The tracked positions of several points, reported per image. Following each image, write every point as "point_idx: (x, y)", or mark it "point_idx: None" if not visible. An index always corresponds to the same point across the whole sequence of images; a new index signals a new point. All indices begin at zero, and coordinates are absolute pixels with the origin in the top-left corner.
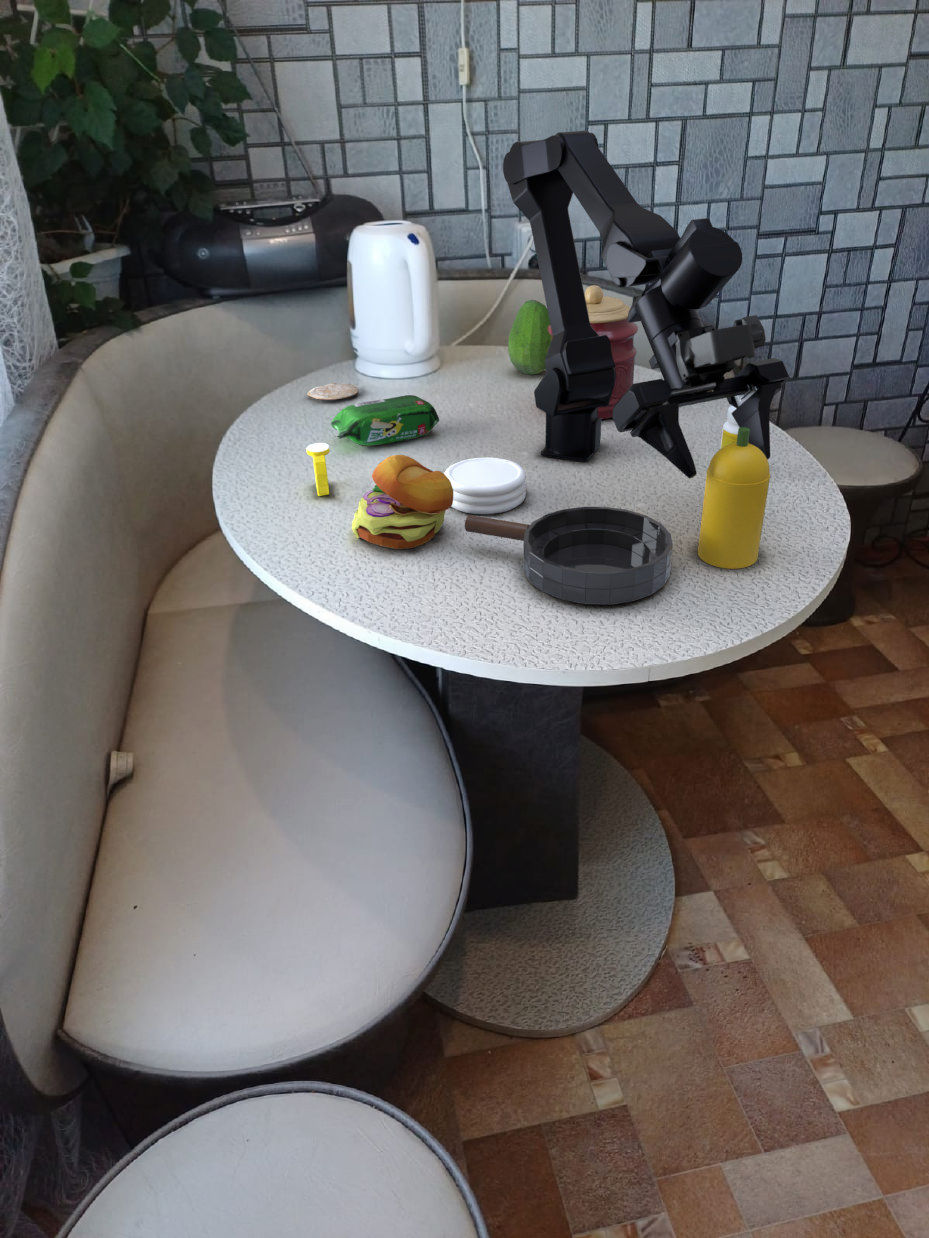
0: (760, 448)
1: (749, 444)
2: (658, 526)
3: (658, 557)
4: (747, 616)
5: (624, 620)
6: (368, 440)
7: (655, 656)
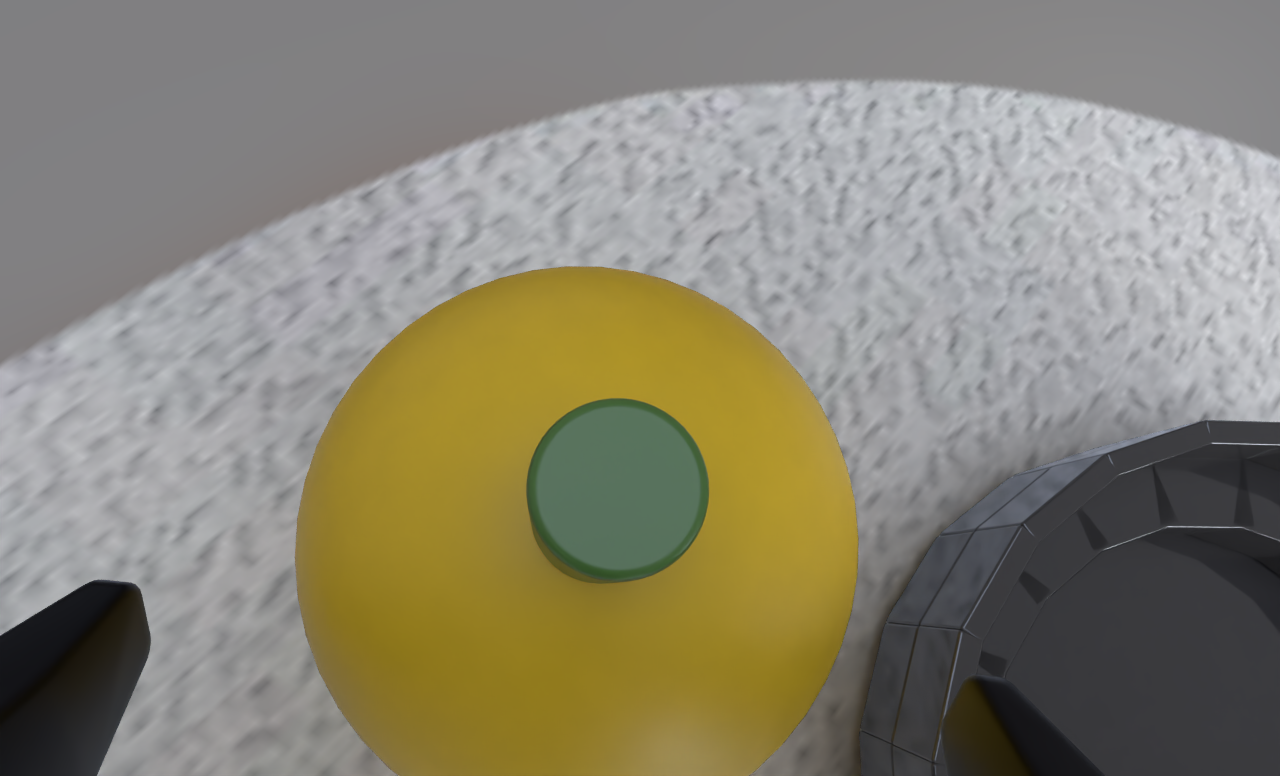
0: (73, 716)
1: (506, 476)
2: None
3: (1159, 455)
4: (845, 167)
5: (1239, 393)
6: None
7: (1250, 175)
